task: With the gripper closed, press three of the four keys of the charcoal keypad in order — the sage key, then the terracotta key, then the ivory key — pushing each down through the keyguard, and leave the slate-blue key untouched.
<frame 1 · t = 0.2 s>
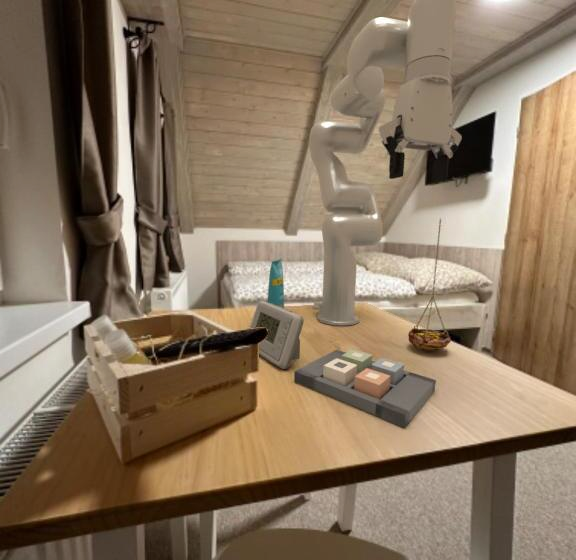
hand: (418, 179, 59), 37 cm above the table, tool pointing down, fingers open, 9 cm apart
tube: (275, 332, 84), on the table
key slate: (387, 371, 56), point 3 cm above the table, slide at 0.0 cm
bird feeder: (427, 350, 74), on the table
key terracotta: (372, 383, 52), point 3 cm above the table, slide at 0.0 cm
digital clock: (272, 356, 69), on the table
key ivory: (340, 371, 56), point 3 cm above the table, slide at 0.0 cm
keypad frame: (363, 386, 56), on the table
key sage: (356, 361, 60), point 3 cm above the table, slide at 0.0 cm
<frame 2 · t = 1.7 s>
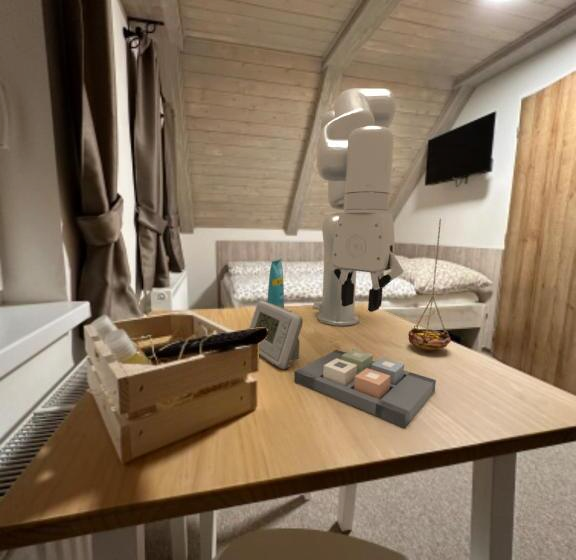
hand: (360, 306, 58), 13 cm above the table, tool pointing down, fingers open, 4 cm apart
nothing on the table moved.
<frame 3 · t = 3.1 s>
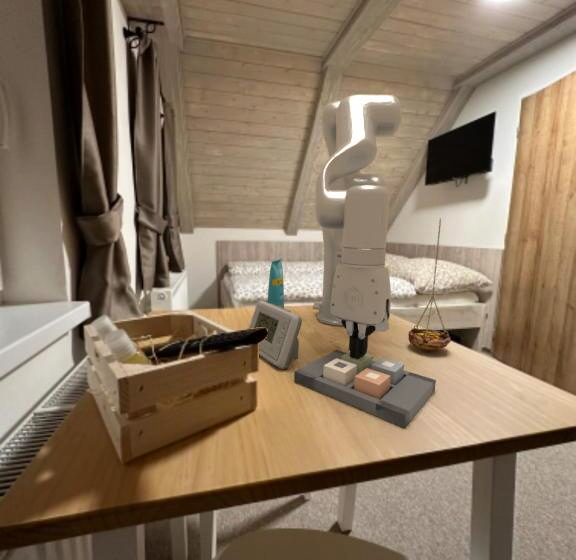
hand: (357, 356, 60), 4 cm above the table, tool pointing down, fingers closed
key sage: (356, 362, 60), point 3 cm above the table, slide at 0.2 cm, touching gripper
everything else where it was.
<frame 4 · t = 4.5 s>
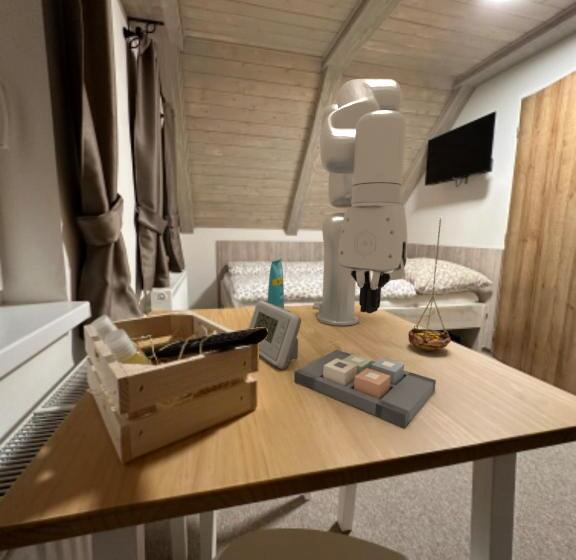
hand: (369, 311, 53), 14 cm above the table, tool pointing down, fingers closed
key sage: (356, 366, 60), point 2 cm above the table, slide at 1.0 cm
everything else where it was.
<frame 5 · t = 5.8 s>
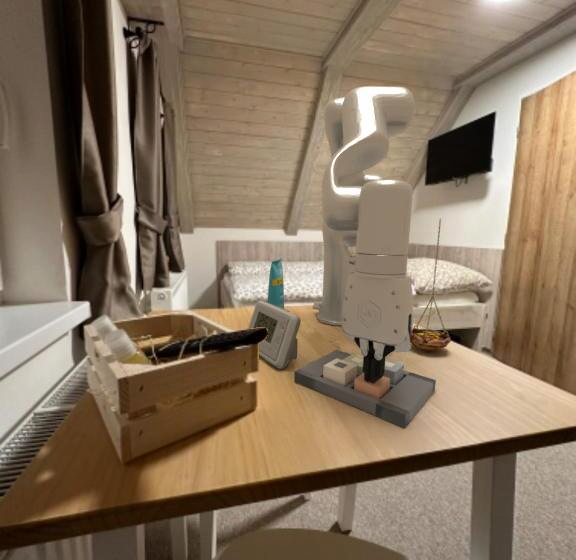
hand: (372, 378, 51), 4 cm above the table, tool pointing down, fingers closed
key terracotta: (372, 385, 52), point 2 cm above the table, slide at 0.5 cm, touching gripper
everything else where it was.
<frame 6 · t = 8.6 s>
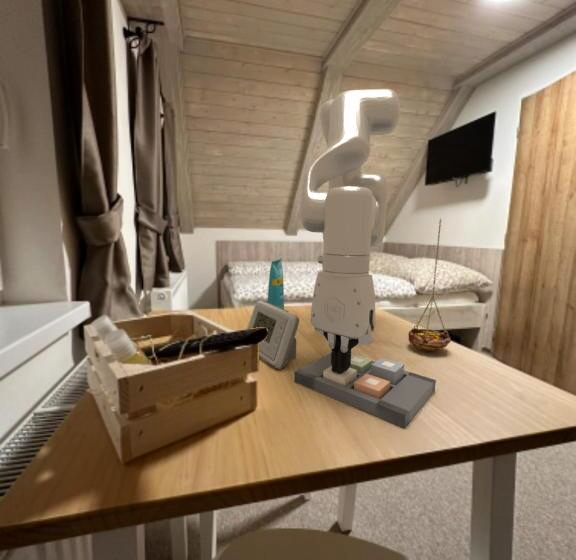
hand: (340, 370, 55), 3 cm above the table, tool pointing down, fingers closed
key terracotta: (371, 388, 52), point 2 cm above the table, slide at 1.0 cm
key ivory: (339, 376, 56), point 2 cm above the table, slide at 1.0 cm, touching gripper
everything else where it was.
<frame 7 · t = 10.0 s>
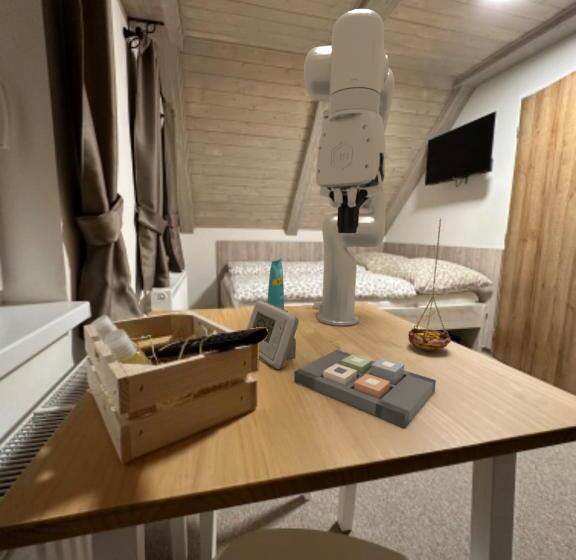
hand: (347, 232, 52), 27 cm above the table, tool pointing down, fingers closed
key ivory: (339, 377, 56), point 2 cm above the table, slide at 1.0 cm
everything else where it was.
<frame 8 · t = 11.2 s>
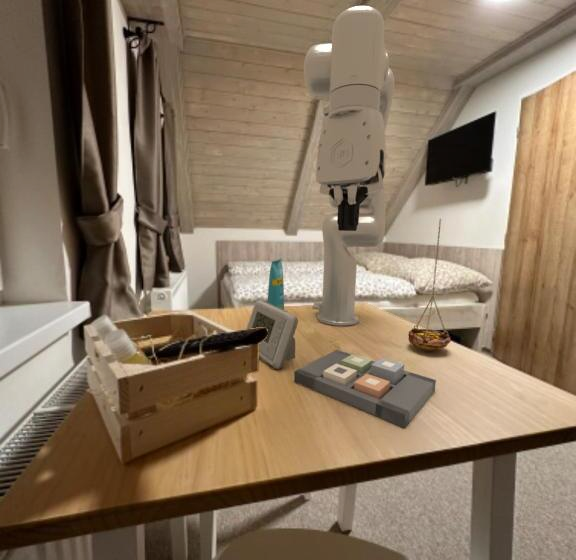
hand: (347, 230, 51), 27 cm above the table, tool pointing down, fingers closed
nothing on the table moved.
at the end: key sage slide at 1.0 cm; key terracotta slide at 1.0 cm; key ivory slide at 1.0 cm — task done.
